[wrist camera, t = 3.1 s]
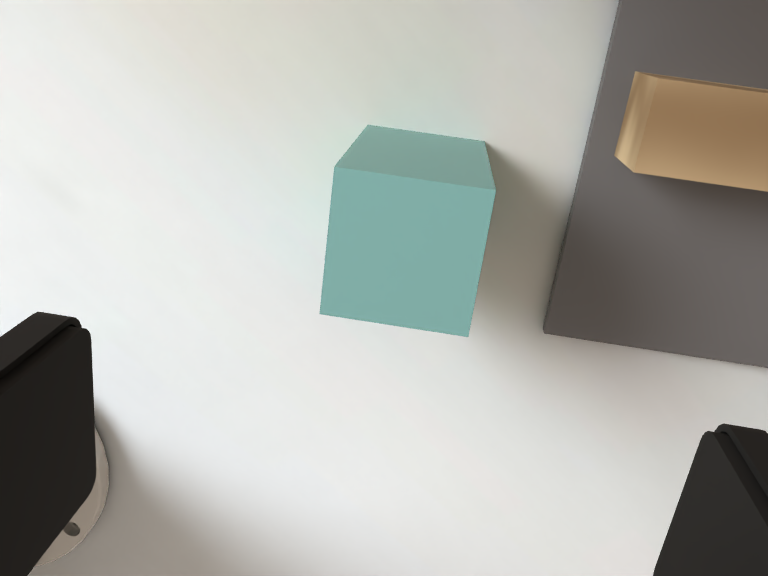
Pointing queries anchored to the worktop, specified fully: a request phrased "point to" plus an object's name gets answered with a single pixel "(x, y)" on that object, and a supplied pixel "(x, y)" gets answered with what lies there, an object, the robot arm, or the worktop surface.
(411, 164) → the teal block
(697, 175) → the oak ledge
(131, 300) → the worktop surface
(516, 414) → the worktop surface
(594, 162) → the rubber mat
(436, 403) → the worktop surface
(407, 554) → the worktop surface
